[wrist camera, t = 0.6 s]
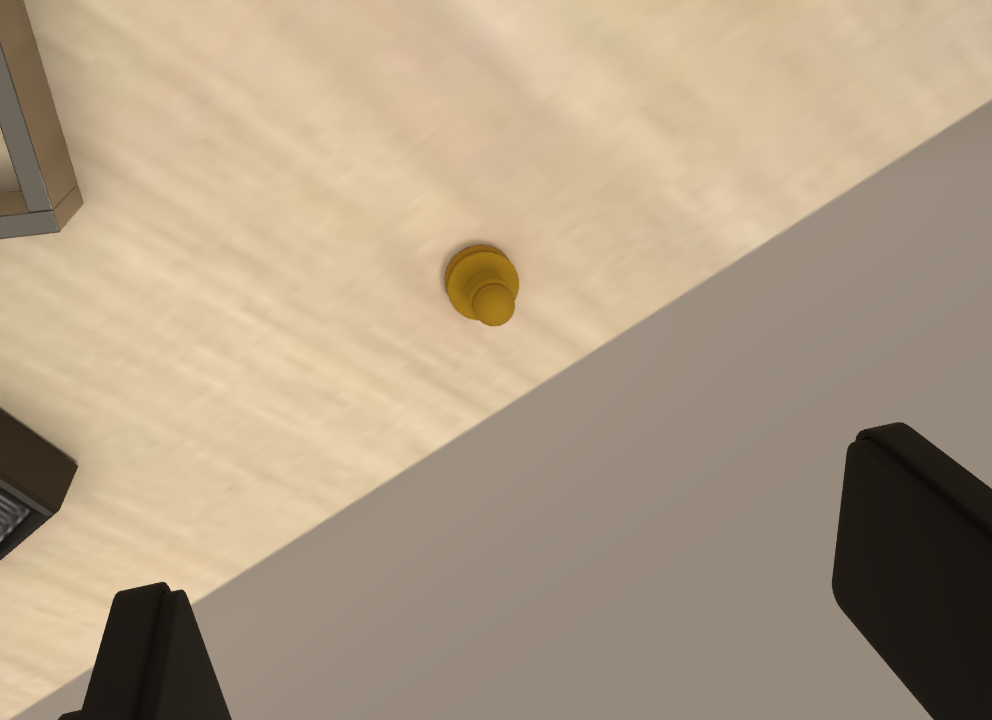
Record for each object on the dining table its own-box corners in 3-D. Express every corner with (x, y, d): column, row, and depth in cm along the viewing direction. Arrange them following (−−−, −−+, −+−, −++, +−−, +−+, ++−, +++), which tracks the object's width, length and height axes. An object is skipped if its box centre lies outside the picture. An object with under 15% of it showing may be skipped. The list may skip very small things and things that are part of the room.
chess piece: (477, 324, 47) (496, 363, 42) (429, 280, 45) (443, 315, 41) (527, 277, 46) (551, 311, 42) (481, 230, 44) (501, 260, 40)
